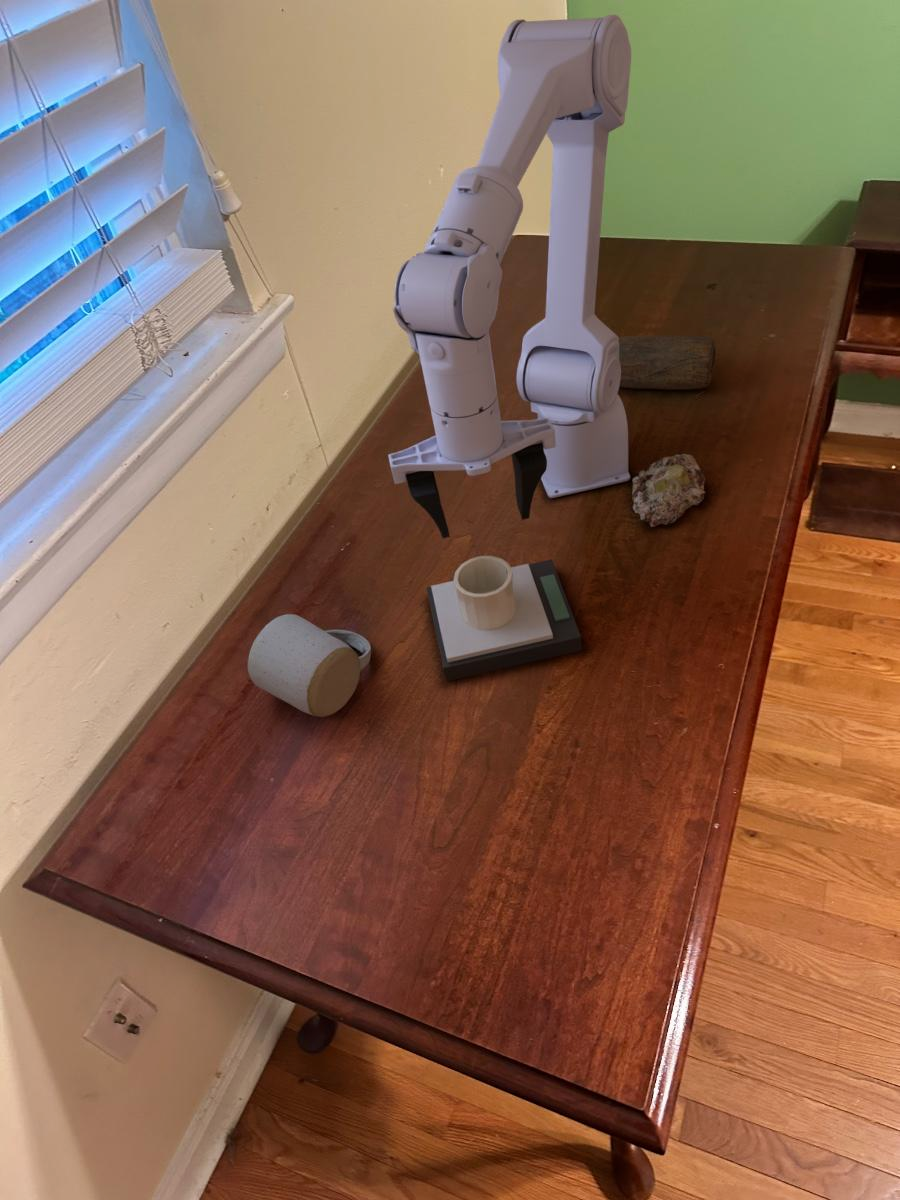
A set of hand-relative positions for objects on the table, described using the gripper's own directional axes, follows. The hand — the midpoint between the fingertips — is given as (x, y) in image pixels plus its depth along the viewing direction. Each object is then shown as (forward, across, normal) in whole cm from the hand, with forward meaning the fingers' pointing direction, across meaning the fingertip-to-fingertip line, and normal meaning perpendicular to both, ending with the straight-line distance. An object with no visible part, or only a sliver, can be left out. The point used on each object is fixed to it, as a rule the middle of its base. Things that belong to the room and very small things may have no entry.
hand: (484, 521), depth 80 cm
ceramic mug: (+9, -18, -7) cm, 22 cm away
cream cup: (+7, -1, -5) cm, 8 cm away
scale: (+9, 0, -5) cm, 10 cm away
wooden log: (+10, +27, +30) cm, 41 cm away
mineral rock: (+10, +21, +8) cm, 24 cm away
